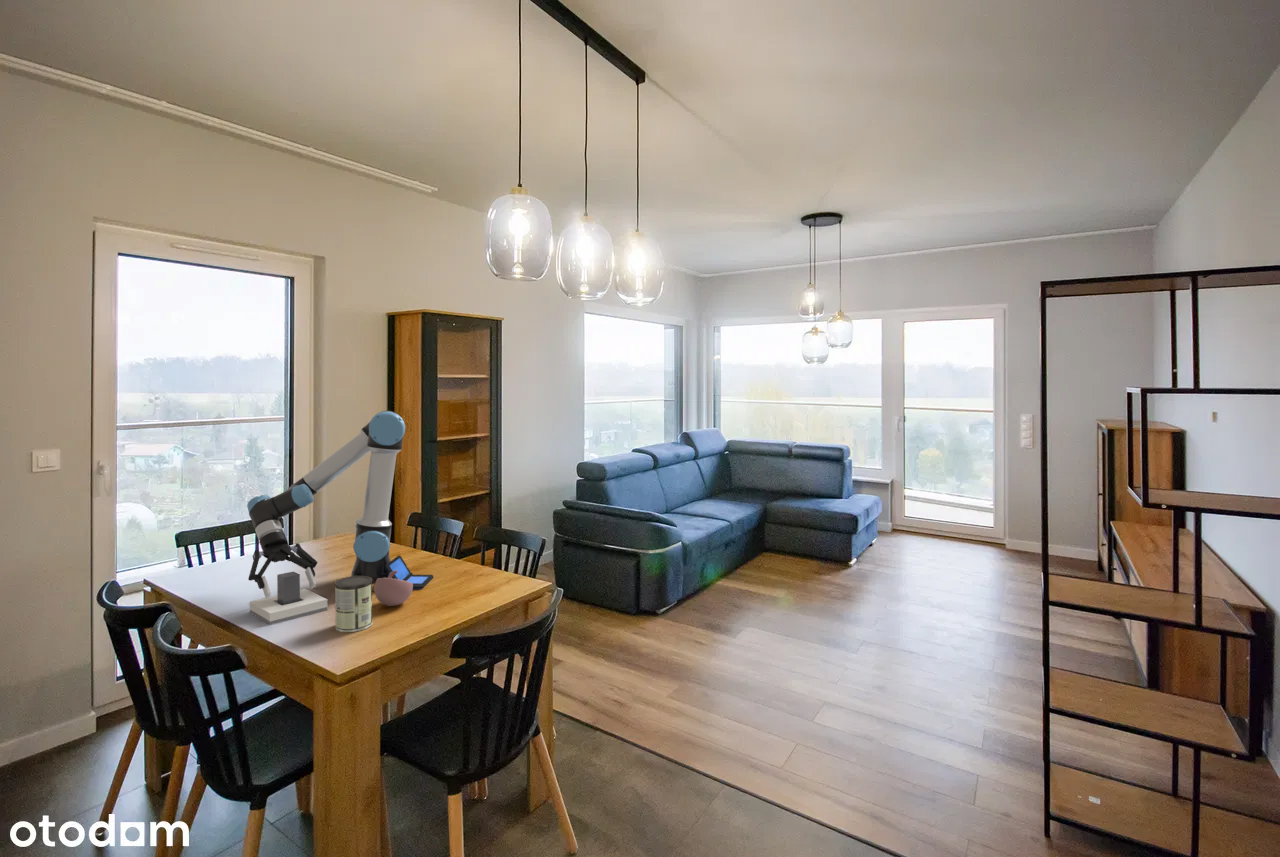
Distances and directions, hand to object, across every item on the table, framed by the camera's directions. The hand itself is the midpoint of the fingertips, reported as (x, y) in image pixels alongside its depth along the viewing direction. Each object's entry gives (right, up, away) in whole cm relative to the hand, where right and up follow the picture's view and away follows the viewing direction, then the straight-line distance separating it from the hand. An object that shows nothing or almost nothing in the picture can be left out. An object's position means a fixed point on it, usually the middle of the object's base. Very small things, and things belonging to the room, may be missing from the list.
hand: (291, 590), depth 193 cm
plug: (-2, -6, +2) cm, 7 cm away
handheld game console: (+25, -7, +33) cm, 42 cm away
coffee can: (+24, -8, -9) cm, 27 cm away
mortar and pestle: (+29, -8, +10) cm, 31 cm away
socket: (-2, -7, +2) cm, 8 cm away
